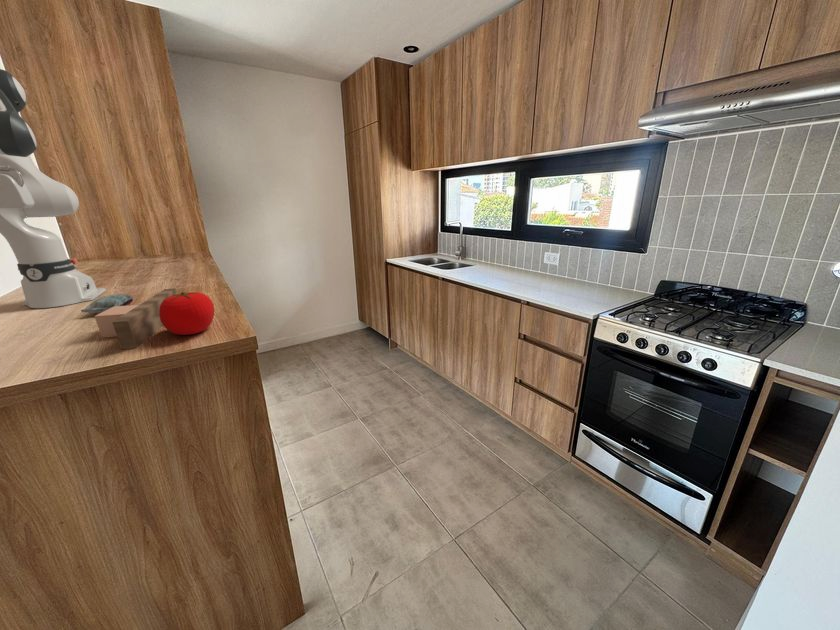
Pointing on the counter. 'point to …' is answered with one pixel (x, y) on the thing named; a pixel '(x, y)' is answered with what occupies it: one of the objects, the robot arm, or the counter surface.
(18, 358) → the counter surface
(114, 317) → the terracotta block
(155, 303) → the walnut board
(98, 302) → the packaged food
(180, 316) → the tomato
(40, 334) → the counter surface
